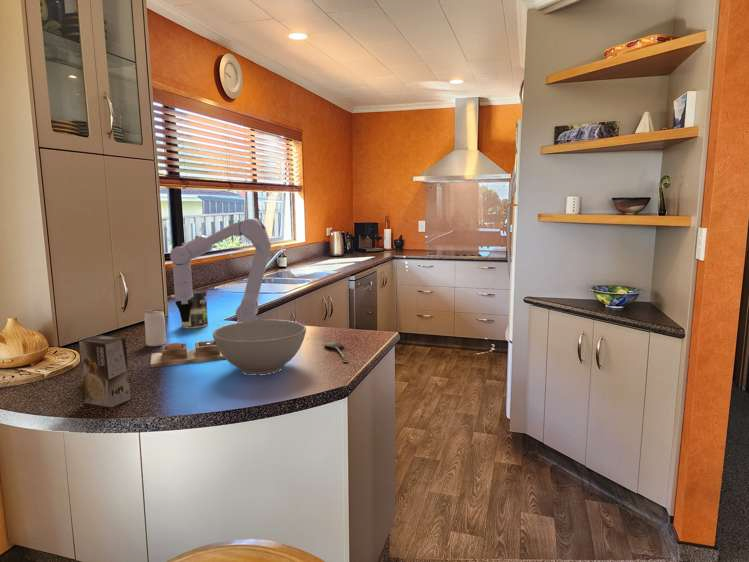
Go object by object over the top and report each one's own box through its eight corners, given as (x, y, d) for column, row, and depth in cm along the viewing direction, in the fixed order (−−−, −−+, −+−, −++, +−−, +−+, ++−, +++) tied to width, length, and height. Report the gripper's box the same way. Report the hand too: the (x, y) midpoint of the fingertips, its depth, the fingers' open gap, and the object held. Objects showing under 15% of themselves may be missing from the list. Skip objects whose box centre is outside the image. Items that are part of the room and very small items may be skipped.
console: (228, 348, 177) (227, 337, 176) (232, 358, 166) (231, 345, 165) (151, 356, 168) (151, 344, 168) (150, 367, 157) (149, 354, 156)
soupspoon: (341, 347, 181) (322, 349, 180) (340, 337, 181) (322, 340, 179) (355, 363, 160) (334, 366, 159) (355, 352, 160) (334, 355, 158)
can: (159, 347, 179) (156, 313, 178) (142, 346, 181) (139, 312, 179) (170, 342, 186) (167, 309, 184) (153, 341, 187) (151, 308, 185)
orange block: (182, 351, 168) (181, 342, 167) (182, 355, 164) (181, 345, 163) (167, 352, 166) (166, 343, 166) (167, 356, 162) (166, 347, 162)
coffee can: (211, 322, 216) (209, 289, 214) (203, 328, 206) (201, 293, 204) (187, 322, 216) (185, 289, 214) (177, 328, 206) (175, 293, 204)
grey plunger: (214, 349, 171) (213, 340, 171) (215, 353, 167) (214, 344, 167) (200, 351, 170) (199, 342, 169) (201, 354, 166) (200, 345, 165)
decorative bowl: (210, 362, 161) (208, 324, 160) (294, 352, 172) (293, 316, 170) (221, 390, 137) (218, 345, 135) (318, 376, 147) (317, 334, 146)
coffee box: (132, 399, 131) (127, 337, 129) (111, 408, 125) (105, 343, 123) (105, 394, 134) (99, 334, 132) (83, 403, 129) (77, 340, 126)
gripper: (170, 279, 179) (172, 318, 181) (170, 285, 166) (173, 327, 168) (191, 278, 182) (194, 316, 184) (193, 284, 169) (196, 325, 171)
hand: (185, 321), depth 176 cm, fingers closed
